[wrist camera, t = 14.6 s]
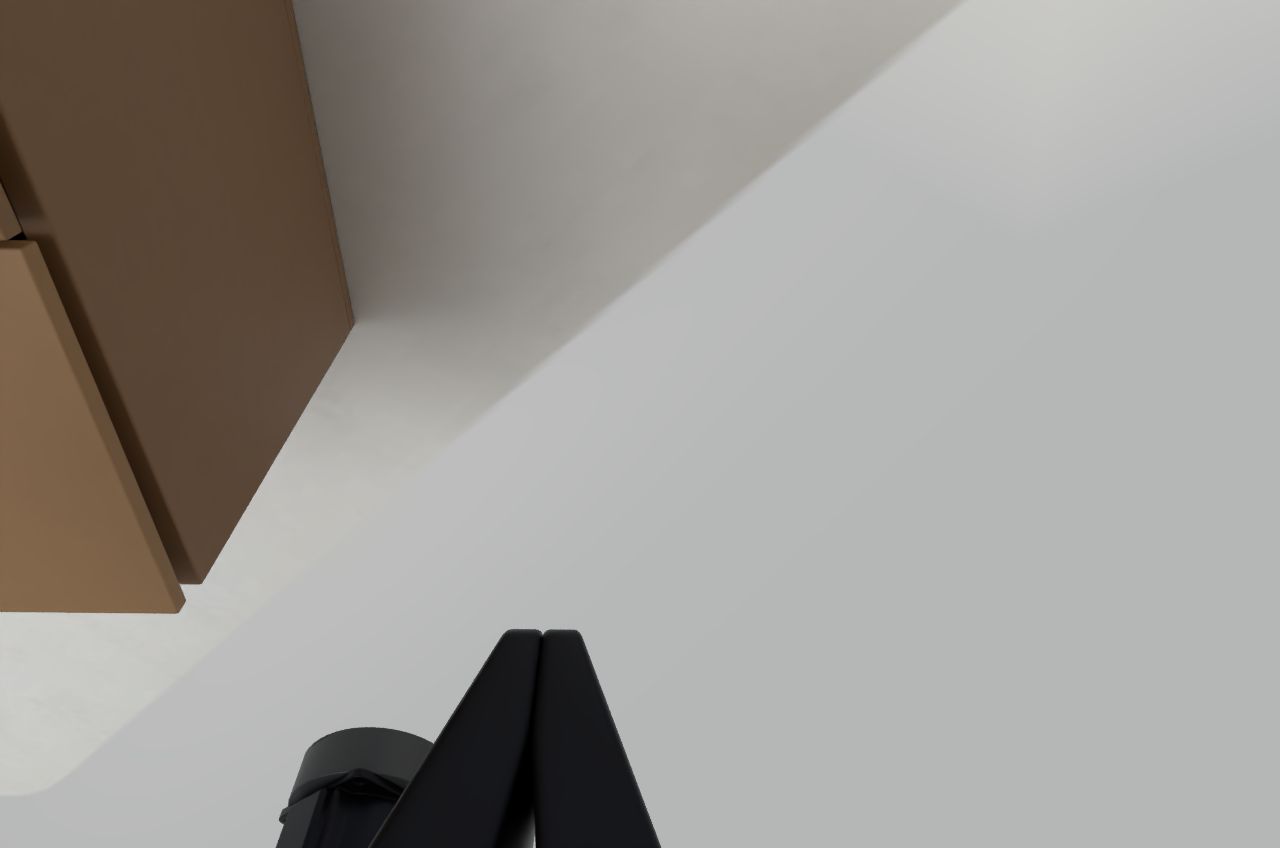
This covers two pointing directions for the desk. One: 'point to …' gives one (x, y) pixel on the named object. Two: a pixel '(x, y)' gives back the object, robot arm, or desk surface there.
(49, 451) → the flap
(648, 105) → the desk surface
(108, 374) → the carton
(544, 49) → the desk surface
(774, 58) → the desk surface
